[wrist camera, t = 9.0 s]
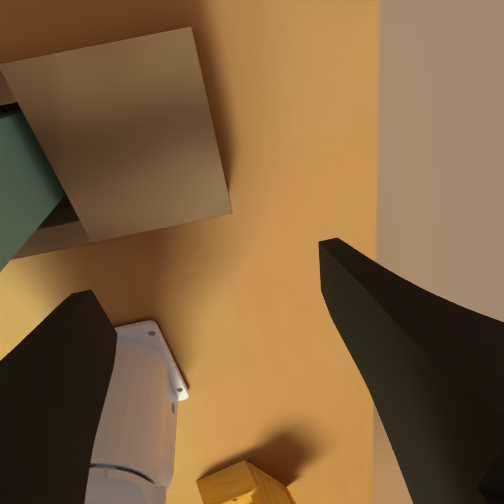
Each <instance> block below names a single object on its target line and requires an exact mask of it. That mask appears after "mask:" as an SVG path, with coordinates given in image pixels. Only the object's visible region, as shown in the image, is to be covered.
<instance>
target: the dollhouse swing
mask: <svg viewBox="0 0 504 504" xmlns="http://www.w3.org/2000/svg"><path fill="white" fill-rule="evenodd" d="M196 482H197V485H198V488H199V492H200V495H201V498H202V501H203V503H204V504H296V503H295V501H294V499H293V497H292V496H291V494H290V492H289V490H288V489H287V487H286V486H284V485H283V484H282V483H280V482H279V481H277V480H276V479H274V478H272V477H271V476H269V475H268V474H266V473H265V472H263V471H261V470H260V469H258V468H257V467H255V466H254V465H252V464H251V463H249V462H247V461H245V460H243V461H241V462H238V463H236V464H234V465H231V466H229V467H227V468H225V469H222V470H220V471H218V472H216V473H213V474H211V475H209V476H206V477H204V478H202V479H200V480H197V481H196Z"/></svg>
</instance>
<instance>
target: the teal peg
mask: <svg viewBox="0 0 504 504" xmlns="http://www.w3.org/2000/svg"><path fill="white" fill-rule="evenodd" d="M65 195H66V193H65V191H64V189H63V187H62V185H61V183H60V182H59V180H58V178H57V176H56V174H55V172H54V170H53V168H52V166H51V164H50V163H49V161H48V159H47V157H46V155H45V153H44V151H43V149H42V147H41V146H40V144H39V142H38V140H37V138H36V136H35V134H34V132H33V130H32V129H31V127H30V125H29V123H28V121H27V119H26V117H25V115H24V113H23V112H22V110H21V109H17V110H12V111H6V112H1V113H0V272H1V270H2V269H3V268H4V267H5V266H6V264H7V263H8V262H9V261H10V260H11V259H12V257H13V256H14V255H15V254H16V253H17V251H18V250H19V249H20V248H21V247H22V246H23V244H24V243H25V242H26V241H27V240H28V238H29V237H30V236H31V235H32V234H33V233H34V231H35V230H36V229H37V228H38V227H39V225H40V224H41V223H42V222H43V221H44V220H45V218H46V217H47V216H48V215H49V214H50V212H51V211H52V210H53V209H54V208H55V207H56V205H57V204H58V203H59V202H60V201H61V199H62V198H63V197H64V196H65Z"/></svg>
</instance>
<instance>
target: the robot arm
mask: <svg viewBox="0 0 504 504" xmlns="http://www.w3.org/2000/svg"><path fill="white" fill-rule="evenodd" d="M319 261H320V279H321V292H322V294H323V297H324V300H325V303H326V305H327V308H328V310H329V313H330V316H331V318H332V320H333V322H334V324H335V326H336V328H337V330H338V331H339V333H340V335H341V337H342V339H343V341H344V343H345V345H346V347H347V349H348V350H349V352H350V354H351V356H352V358H353V360H354V362H355V364H356V365H357V367H358V369H359V371H360V373H361V375H362V377H363V379H364V381H365V383H366V385H367V387H368V389H369V392H370V394H371V396H372V399H373V401H374V404H375V406H376V408H377V411H378V413H379V416H380V418H381V421H382V423H383V426H384V428H385V431H386V433H387V436H388V438H389V441H390V443H391V446H392V449H393V451H394V453H395V456H396V459H397V461H398V464H399V467H400V469H401V472H402V475H403V477H404V480H405V483H406V485H407V488H408V491H409V493H410V496H411V499H412V501H413V504H504V322H501V321H499V320H496V319H493V318H490V317H488V316H485V315H482V314H480V313H477V312H474V311H472V310H469V309H467V308H464V307H462V306H459V305H457V304H455V303H453V302H450V301H448V300H446V299H444V298H441V297H439V296H437V295H435V294H433V293H430V292H428V291H426V290H424V289H422V288H420V287H418V286H416V285H415V284H413V283H411V282H409V281H407V280H405V279H403V278H401V277H399V276H398V275H396V274H394V273H393V272H391V271H389V270H388V269H386V268H384V267H382V266H381V265H379V264H378V263H376V262H374V261H373V260H371V259H370V258H368V257H366V256H365V255H363V254H362V253H360V252H359V251H357V250H356V249H354V248H353V247H351V246H350V245H348V244H347V243H345V242H344V241H342V240H340V239H339V238H333V239H329V240H324V241H319ZM150 331H154V332H150ZM188 397H189V391H188V389H187V387H186V384H185V382H184V380H183V378H182V376H181V374H180V372H179V370H178V367H177V365H176V363H175V361H174V359H173V357H172V355H171V353H170V351H169V348H168V346H167V344H166V342H165V340H164V338H163V336H162V334H161V332H160V329H159V327H158V325H157V323H156V322H154V321H151V320H148V321H143V322H138V323H133V324H129V325H124V326H119V327H115V328H114V327H113V325H112V324H111V322H110V320H109V318H108V317H107V315H106V313H105V312H104V310H103V308H102V307H101V305H100V303H99V301H98V300H97V298H96V296H95V295H94V293H93V291H92V290H87V291H82V292H78V293H73V294H71V295H70V296H69V297H67V298H66V299H65V300H64V301H63V302H62V303H61V304H60V305H59V306H57V307H56V308H55V309H54V310H53V311H52V312H51V313H50V314H49V315H48V316H47V317H46V318H45V319H44V320H43V321H42V322H41V323H40V324H39V325H38V326H37V327H36V328H35V329H34V330H33V331H32V332H31V333H30V334H28V335H27V336H26V337H25V338H24V339H23V340H22V341H21V342H20V343H19V344H18V345H17V346H16V347H15V348H14V349H13V350H12V351H11V352H10V353H8V354H7V355H6V356H5V357H4V358H3V359H2V360H1V361H0V504H165V502H166V492H167V490H168V488H169V485H170V483H171V480H172V476H173V470H174V456H175V439H176V423H177V406H178V401H180V400H185V399H187V398H188Z"/></svg>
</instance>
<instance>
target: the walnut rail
mask: <svg viewBox="0 0 504 504" xmlns="http://www.w3.org/2000/svg"><path fill="white" fill-rule="evenodd" d="M15 102H18V104H19V106H20V108H21V110H22V112H23V113H24V115H25V117H26V119H27V121H28V123H29V125H30V127H31V129H32V130H33V132H34V134H35V136H36V138H37V140H38V142H39V144H40V146H41V147H42V149H43V151H44V153H45V155H46V157H47V159H48V161H49V163H50V164H51V166H52V168H53V170H54V172H55V174H56V176H57V178H58V180H59V182H60V183H61V185H62V187H63V189H64V191H65V193H66V195H67V197H68V199H69V200H70V202H71V204H70V205H65V206H60V207H55V208H54V209H53V210H52V211H51V212H50V214H49V215H48V216H47V217H46V218H45V220H44V221H43V222H42V223H41V224H40V225H39V227H38V228H37V229H36V230H35V231H34V233H33V234H32V235H31V236H30V237H29V238H28V240H27V241H26V242H25V243H24V244H23V246H22V247H21V248H20V249H19V250H18V251H17V253H16V254H15V255H14V256H13V257H12V259H17V258H22V257H26V256H31V255H36V254H41V253H46V252H50V251H55V250H60V249H65V248H70V247H74V246H79V245H84V244H89V243H94V242H98V241H103V240H108V239H113V238H118V237H122V236H127V235H132V234H137V233H142V232H146V231H151V230H156V229H161V228H166V227H170V226H175V225H180V224H185V223H190V222H194V221H199V220H204V219H209V218H214V217H218V216H223V215H228V214H232V209H231V203H230V198H229V192H228V188H227V183H226V179H225V174H224V170H223V165H222V161H221V156H220V151H219V147H218V142H217V138H216V133H215V129H214V124H213V120H212V115H211V111H210V106H209V101H208V97H207V92H206V88H205V83H204V79H203V74H202V70H201V65H200V61H199V56H198V51H197V47H196V42H195V38H194V33H193V29H192V27H186V28H181V29H175V30H170V31H165V32H160V33H155V34H150V35H145V36H140V37H135V38H130V39H125V40H120V41H115V42H109V43H104V44H99V45H94V46H89V47H84V48H79V49H74V50H69V51H64V52H59V53H54V54H49V55H44V56H38V57H33V58H28V59H23V60H18V61H13V62H8V63H3V64H0V105H5V104H10V103H15ZM12 259H11V260H12Z"/></svg>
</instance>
